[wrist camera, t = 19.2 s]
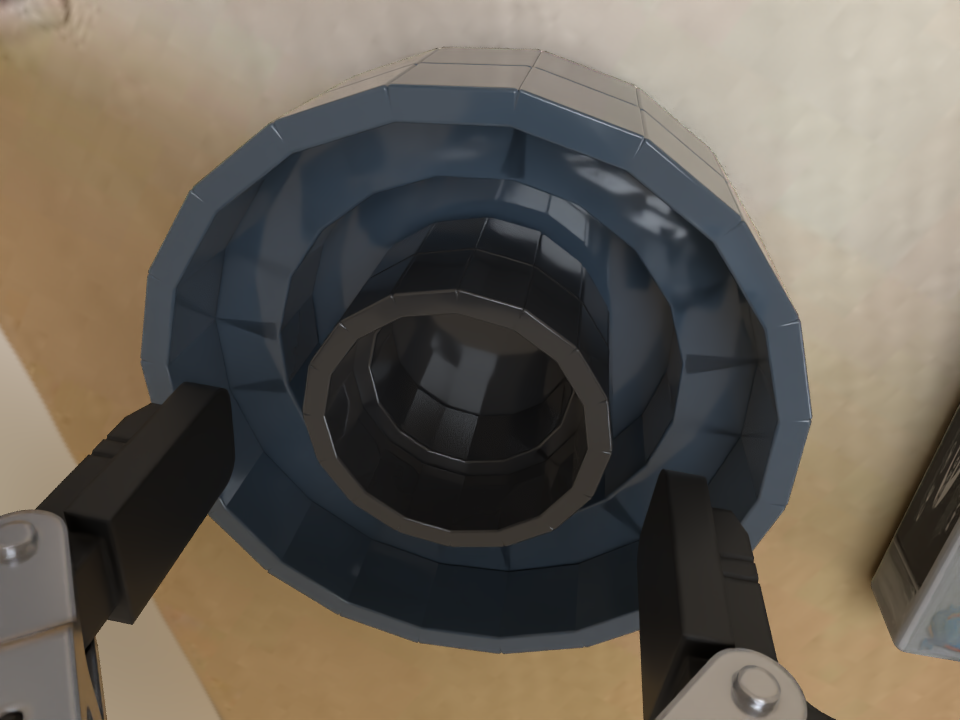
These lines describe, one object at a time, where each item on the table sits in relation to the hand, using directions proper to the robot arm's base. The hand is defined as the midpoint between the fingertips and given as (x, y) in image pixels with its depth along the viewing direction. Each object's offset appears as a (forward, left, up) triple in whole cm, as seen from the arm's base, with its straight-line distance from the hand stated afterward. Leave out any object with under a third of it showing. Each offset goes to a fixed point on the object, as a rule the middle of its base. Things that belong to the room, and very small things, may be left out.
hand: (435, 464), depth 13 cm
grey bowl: (0, 0, -6) cm, 6 cm away
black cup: (0, 0, -6) cm, 6 cm away
